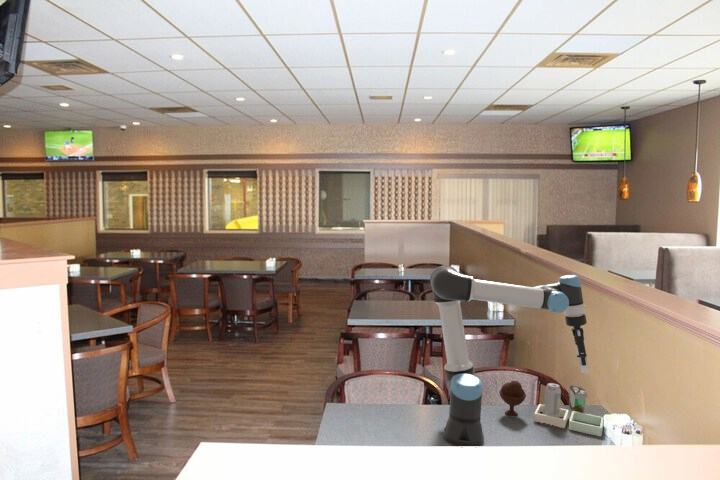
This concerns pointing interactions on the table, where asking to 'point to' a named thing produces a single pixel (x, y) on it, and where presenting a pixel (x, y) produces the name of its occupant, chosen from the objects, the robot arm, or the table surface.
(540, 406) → the beige bin
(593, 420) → the green bin
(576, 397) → the food container
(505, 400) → the ice cream bowl
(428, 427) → the table surface
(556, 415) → the energy drink can
